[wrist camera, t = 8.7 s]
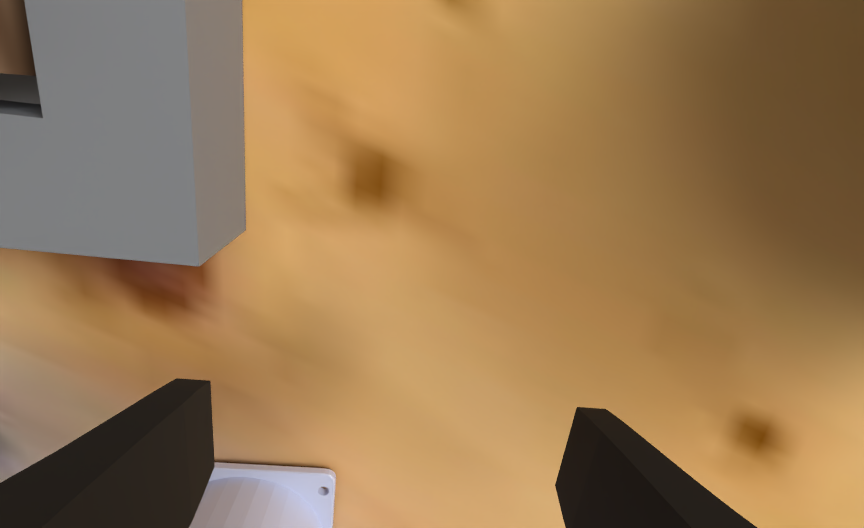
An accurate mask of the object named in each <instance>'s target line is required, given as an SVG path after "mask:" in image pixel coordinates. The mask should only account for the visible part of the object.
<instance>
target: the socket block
mask: <svg viewBox="0 0 864 528" xmlns="http://www.w3.org/2000/svg"><path fill="white" fill-rule="evenodd" d="M24 2H25V8H26V14H27V21H28V27H29V33H30V40H31V46H32V52H33V58H34V65H35V71H36V76H30V75H17V74H4V73H0V248H9V249H20V250H30V251H41V252H52V253H62V254H73V255H84V256H94V257H105V258H116V259H126V260H137V261H147V262H158V263H169V264H179V265H190V266H200V265H202V264H203V263H204V262H205V261H207V260H208V259H209V258H211V257H212V256H213V255H214V254H216V253H217V252H218V251H220V250H221V249H222V248H223V247H225V246H226V245H227V244H229V243H230V242H231V241H232V240H234V239H235V238H236V237H238V236H239V235H240V234H241V233H243V232H244V231H245V230H246V210H245V148H244V87H243V25H242V0H24Z"/></svg>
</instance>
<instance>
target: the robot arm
mask: <svg viewBox="0 0 864 528" xmlns="http://www.w3.org/2000/svg"><path fill="white" fill-rule="evenodd" d="M335 486H336V474H335V473H334V472H333V471H332V470H330V469H326V468H310V467H292V466H274V465H255V464H237V463H219V462H214V446H213V426H212V406H211V385H210V381H205V380H191V379H175V380H173V381H171V382H170V383H168V384H166V385H164V386H163V387H161V388H159V389H157V390H156V391H154V392H153V393H151V394H149V395H148V396H146V397H144V398H143V399H141V400H139V401H138V402H136V403H135V404H133V405H131V406H130V407H128V408H127V409H125V410H123V411H122V412H120V413H119V414H117V415H115V416H114V417H112V418H110V419H109V420H107V421H106V422H104V423H102V424H101V425H99V426H97V427H96V428H94V429H92V430H91V431H89V432H87V433H86V434H84V435H82V436H81V437H79V438H78V439H76V440H74V441H73V442H71V443H69V444H68V445H66V446H64V447H63V448H61V449H59V450H58V451H56V452H54V453H53V454H51V455H49V456H47V457H45V458H44V459H42V460H40V461H38V462H37V463H35V464H33V465H31V466H30V467H28V468H26V469H24V470H22V471H21V472H19V473H17V474H15V475H14V476H12V477H10V478H8V479H7V480H5V481H3V482H1V483H0V528H333V516H334V501H335ZM555 486H556V490H557V494H558V499H559V503H560V507H561V511H562V515H563V519H564V523H565V526H566V528H757V527H756V526H754V525H753V524H752V523H750V522H749V521H747V520H746V519H745V518H743V517H742V516H741V515H739V514H738V513H737V512H735V511H734V510H733V509H731V508H730V507H729V506H728V505H726V504H725V503H724V502H722V501H721V500H720V499H718V498H717V497H716V496H715V495H713V494H712V493H711V492H710V491H708V490H707V489H706V488H704V487H703V486H702V485H701V484H699V483H698V482H697V481H696V480H694V479H693V478H692V477H691V476H689V475H688V474H687V473H686V472H684V471H683V470H682V469H681V468H679V467H678V466H677V465H676V464H675V463H673V462H672V461H671V460H670V459H668V458H667V457H666V456H665V455H663V454H662V453H661V452H660V451H659V450H657V449H656V448H655V447H654V446H652V445H651V444H650V443H649V442H648V441H646V440H645V439H644V438H643V437H641V436H640V435H639V434H638V433H636V432H635V431H634V430H633V429H631V428H630V427H629V426H628V425H626V424H625V423H624V422H623V421H621V420H620V419H619V418H617V417H616V416H615V415H613V414H612V413H610V412H609V411H608V410H606V409H597V408H583V407H577V409H576V412H575V416H574V420H573V423H572V427H571V430H570V434H569V438H568V441H567V445H566V448H565V452H564V455H563V459H562V463H561V466H560V470H559V473H558V477H557V481H556V484H555ZM321 487H327V488H326V489H324V488H321Z"/></svg>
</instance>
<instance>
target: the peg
mask: <svg viewBox="0 0 864 528" xmlns="http://www.w3.org/2000/svg"><path fill="white" fill-rule="evenodd" d="M0 73H4V74H17V75H30V76H36V71H35V65H34V58H33V52H32V46H31V40H30V33H29V27H28V21H27V14H26V8H25V2H24V0H0Z"/></svg>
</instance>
